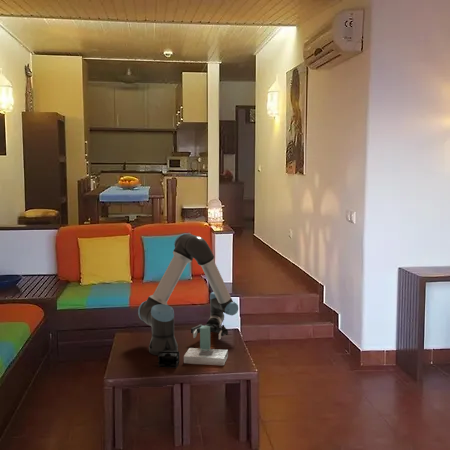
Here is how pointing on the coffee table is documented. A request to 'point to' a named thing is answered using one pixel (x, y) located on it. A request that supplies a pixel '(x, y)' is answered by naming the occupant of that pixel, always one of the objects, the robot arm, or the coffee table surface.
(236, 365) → the coffee table surface
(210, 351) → the grey rectangular frame
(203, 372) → the coffee table surface
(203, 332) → the teal post
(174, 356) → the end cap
